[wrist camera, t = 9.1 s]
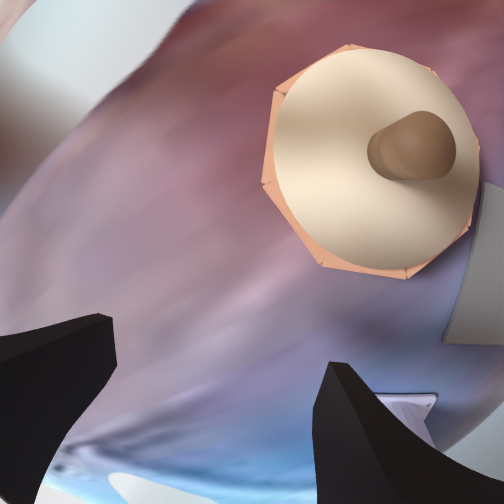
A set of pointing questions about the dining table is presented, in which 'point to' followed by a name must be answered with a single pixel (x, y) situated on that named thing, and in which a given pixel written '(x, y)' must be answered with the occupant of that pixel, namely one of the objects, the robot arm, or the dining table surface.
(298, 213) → the lid
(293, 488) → the dining table surface
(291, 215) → the octagonal bowl
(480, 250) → the mat
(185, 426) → the dining table surface
